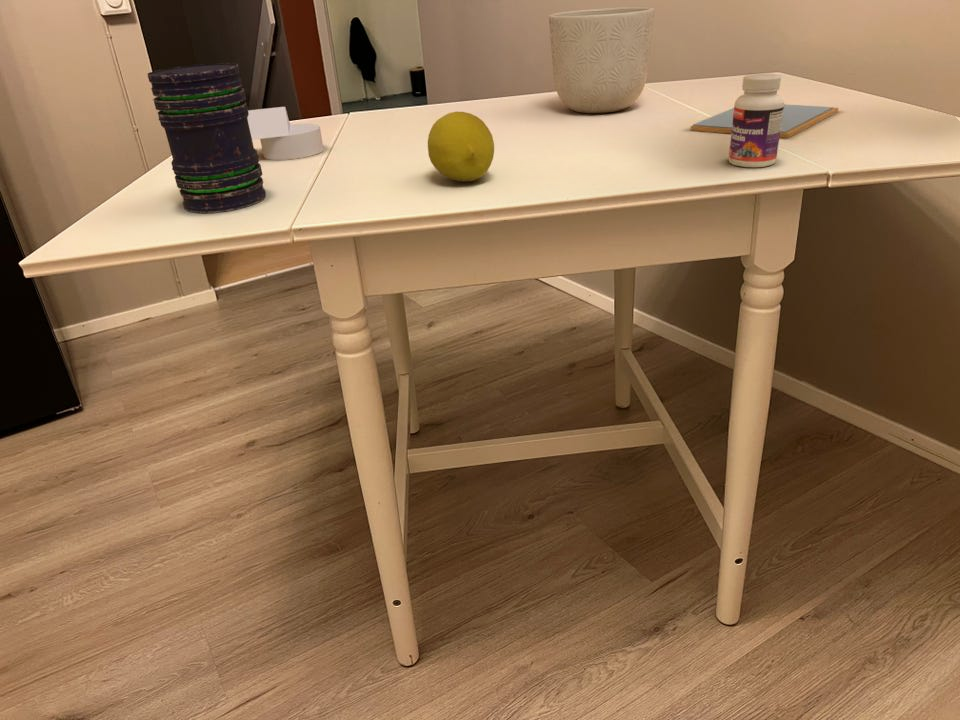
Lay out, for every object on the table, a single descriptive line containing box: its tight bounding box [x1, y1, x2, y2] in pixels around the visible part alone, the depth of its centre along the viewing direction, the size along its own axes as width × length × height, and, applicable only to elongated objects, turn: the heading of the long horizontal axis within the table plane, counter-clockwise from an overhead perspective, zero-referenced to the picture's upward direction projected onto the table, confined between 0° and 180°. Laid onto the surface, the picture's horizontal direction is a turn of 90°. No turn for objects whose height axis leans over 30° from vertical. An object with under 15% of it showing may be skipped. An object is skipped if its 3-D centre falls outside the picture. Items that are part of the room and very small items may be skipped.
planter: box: [548, 6, 655, 114], centre depth 119 cm, size 17×17×15 cm
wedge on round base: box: [247, 106, 325, 161], centre depth 106 cm, size 9×7×13 cm
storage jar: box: [147, 62, 267, 214], centre depth 82 cm, size 10×10×15 cm
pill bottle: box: [728, 73, 785, 168], centre depth 82 cm, size 5×5×10 cm
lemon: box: [427, 111, 495, 182], centre depth 85 cm, size 11×8×8 cm
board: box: [690, 103, 839, 139], centre depth 105 cm, size 14×20×1 cm
